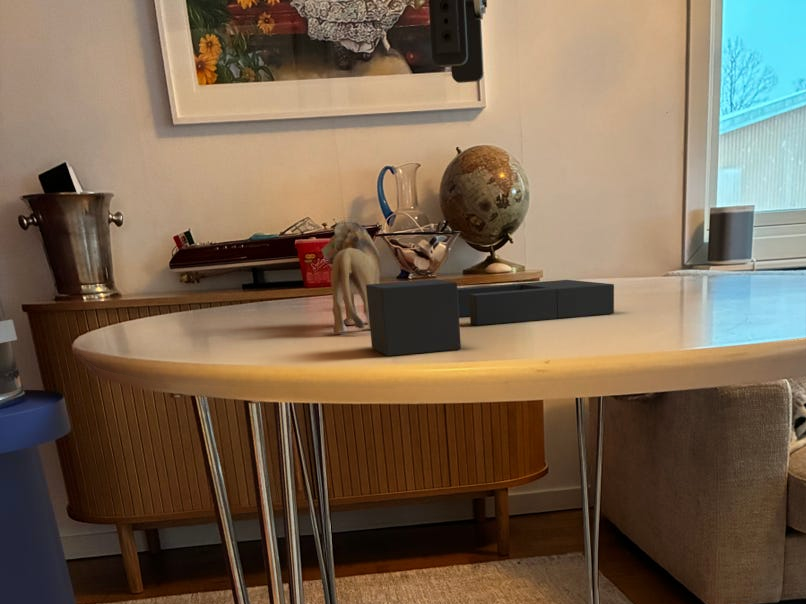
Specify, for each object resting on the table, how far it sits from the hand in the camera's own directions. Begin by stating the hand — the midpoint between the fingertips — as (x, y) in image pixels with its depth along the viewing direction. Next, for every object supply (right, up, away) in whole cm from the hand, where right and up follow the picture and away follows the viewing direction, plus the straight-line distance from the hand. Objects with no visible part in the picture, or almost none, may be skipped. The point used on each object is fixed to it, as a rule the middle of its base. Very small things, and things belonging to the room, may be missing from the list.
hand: (459, 73), depth 65 cm
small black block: (-3, -17, +5) cm, 18 cm away
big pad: (+6, -8, +24) cm, 26 cm away
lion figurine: (-10, -10, +23) cm, 27 cm away
